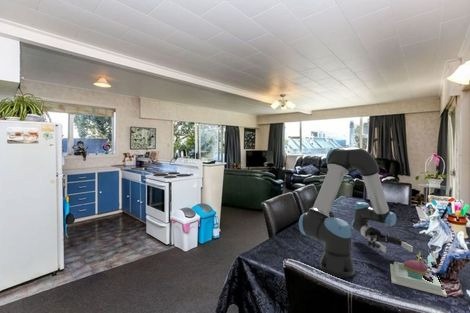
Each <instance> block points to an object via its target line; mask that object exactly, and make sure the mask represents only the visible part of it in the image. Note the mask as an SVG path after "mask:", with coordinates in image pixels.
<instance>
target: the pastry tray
mask: <svg viewBox="0 0 470 313" xmlns="http://www.w3.org/2000/svg"><path fill="white" fill-rule="evenodd" d="M403 265H404V262H399V261H393V264H392V263H389V268H390V269H389V270H390V277H391V278H390V279H391V284H394V285H395V284H396V285H399V286H403V287H406V288H411V289H414V290H418V291H423V292H426V293H430V294H434V295H438V296H441V297H445V298H447V297H448V293H447V292H446V289H444V290H442V289H441V284H440V282H439V280H438V278H437V277H435V276H433V275H432V279H433V283H432V282H429V281H427V280H425V279H424V278H423V277H422V279H421V280H419V279H415V278H411V277H409V276H408V273H407V270H406V269H405V268H404V266H403ZM429 271H430V268H427V272H429Z"/></svg>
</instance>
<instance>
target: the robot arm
mask: <svg viewBox="0 0 470 313" xmlns="http://www.w3.org/2000/svg"><path fill="white" fill-rule="evenodd" d="M325 159H326V160H325V163H326V166H327V172H326V175H325V177H324V180H323V182H322V184H321V188H320V190H319V191H318V195H317V196H316V199H315V202H314V204H313V206H312V207H311V208H308V211H307V212H305V213H303V214H301V215H300V217H299V220H298V228H299V231H300V233H301V234H302V235H304V236H306V237H307V238H309V239H310V238H311V239H312V240H315V241H318V242H320V243H322V244H323V252H322V255H321V258H320V260H319V269H320V270H321V271H322V272H324V273H325V272H326V273H325V274H327V273H328V274H327V275H329V274H331V275H333V276H332V277H335V278H341V279H345V278H346V279H348V278H351V277H353V276H354V275H355V266H354V263H353V260H352V257H351V252H352V251H351V248H352V230H353V231H355V232H356V233H357V234H359V235H361V236H362V237H364V239H365V240H366V244H367V245H368V246H369V247H371V246H372V248H373V249H375V248H377V249H378V250H380V251H381V252H383V253H387V246H386V245H383V243H386V244H394V245H397V246H400V247H401V248H403V249H405V250H407V251H409V252H410V253H413V252H414V246H412V245H411V244H408V243H407V240H406V239H402V238H399V237H395V236H393V235H390V234H386V235H385V234H382V232H381V231H380V230H379V229H377V228H375V227H374V226H371V225H370V224H369V222H370V221H371V222H375V223H379V224H382V225H384V226H385V225H386V226H391V227H393V226H394V225H396V222H397V215H396V213H395V212H392V211H390V209H389V205H388V202H387V199H386V194H385V193H384V189H383V185H382V183H381V179H380V175H379V172H380V168H379V164H378V162H377V160H376V159H375V157H374V156H373V155H372V154H371V153H370V152H368V151H367V150H366V149H364V148H361V147H342V146H341V147H333V148H331V149H330V150H329V151H328V152H327V153H326V156H325ZM350 170H356V171H357V172H358V173H359V175H360V176H361V178H362V181H363V183H364V185H365V188H366V192H367V195H368V198H369V200H370V204H371V207H370V204H369V203H367V202H364V201H363V202H362V201H357V202H355V205H354V219H353V220H352V222H351V223H348V222H347V221H346V220H344V219H341V218H337V217H334V218H332V217H330V216H329V212H331V209H332V208H333V204H334V202H335V199H336V197H337V195H338V192H339V189H340V188H341V184H342V182H343V180H344V176H346V175H349V172H350ZM331 275H330V276H331Z"/></svg>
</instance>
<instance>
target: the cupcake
mask: <svg viewBox="0 0 470 313" xmlns="http://www.w3.org/2000/svg"><path fill="white" fill-rule="evenodd" d="M421 251H422V250H420V251H419V252H418V257H417V260H415V259H410V260H406V261H404V262H403V263H404V265H403V266H404V268H405V269H406V270H407V273H408V276H409V277H411V278H415V279H419V280H421V279H422V277H423V275H424V274H426V273H427V269H428V268H427V267H428V266H426V265H425V264H424V263H422V262H420V260H421V254H422V253H421Z"/></svg>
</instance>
